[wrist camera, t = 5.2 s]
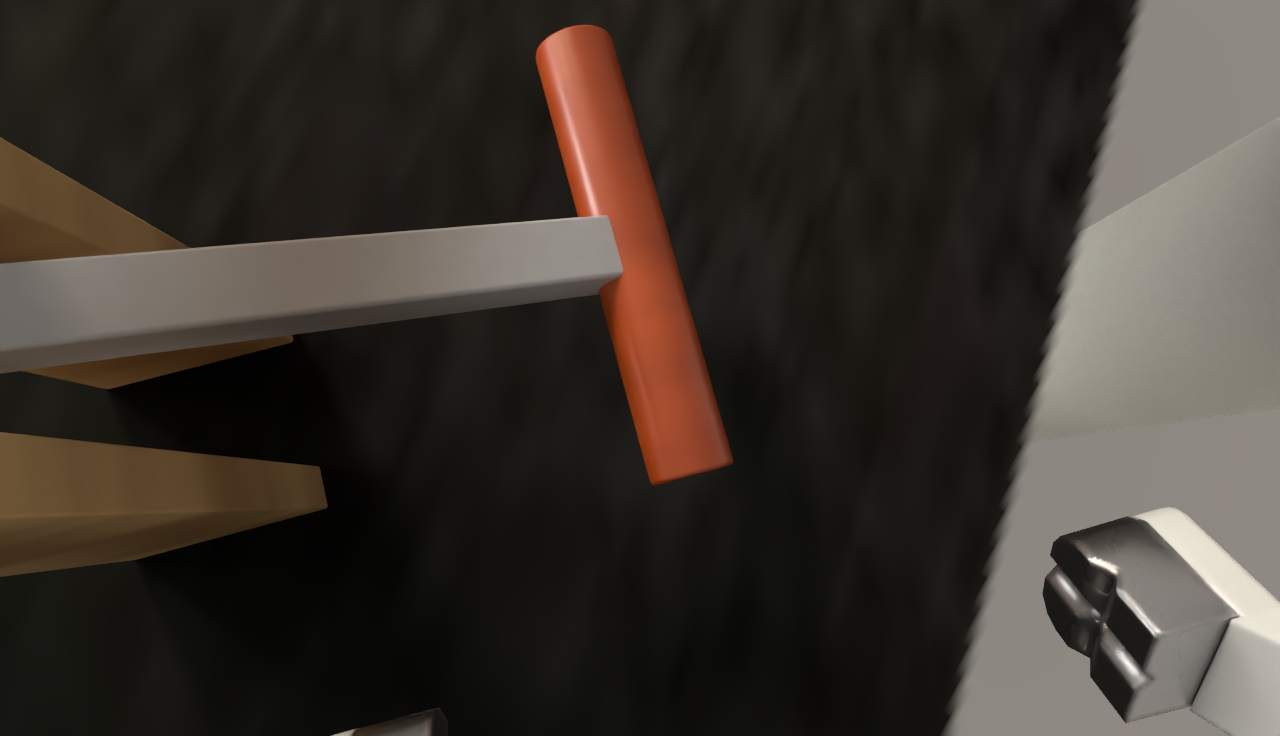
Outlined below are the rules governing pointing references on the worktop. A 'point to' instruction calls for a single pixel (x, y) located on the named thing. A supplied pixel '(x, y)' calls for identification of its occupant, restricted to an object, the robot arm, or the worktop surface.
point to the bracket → (107, 473)
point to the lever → (421, 276)
